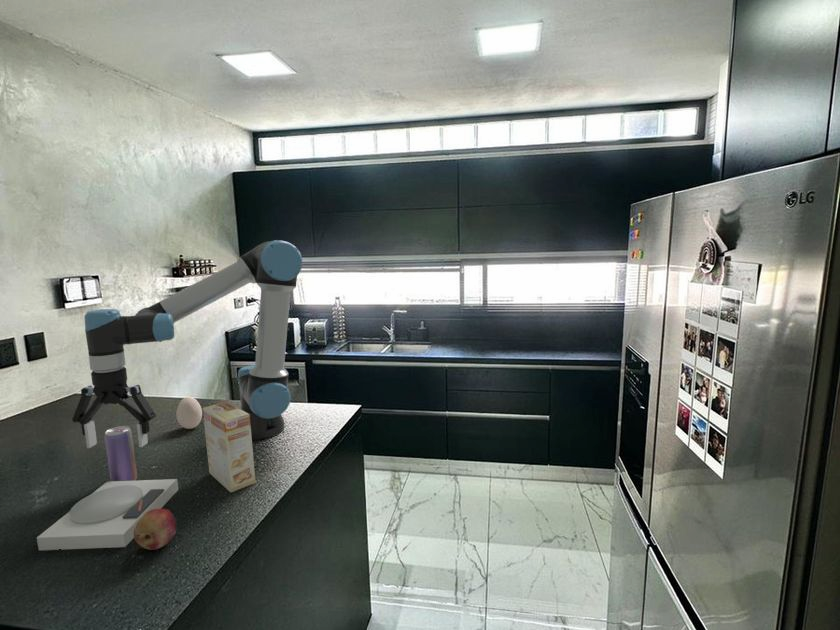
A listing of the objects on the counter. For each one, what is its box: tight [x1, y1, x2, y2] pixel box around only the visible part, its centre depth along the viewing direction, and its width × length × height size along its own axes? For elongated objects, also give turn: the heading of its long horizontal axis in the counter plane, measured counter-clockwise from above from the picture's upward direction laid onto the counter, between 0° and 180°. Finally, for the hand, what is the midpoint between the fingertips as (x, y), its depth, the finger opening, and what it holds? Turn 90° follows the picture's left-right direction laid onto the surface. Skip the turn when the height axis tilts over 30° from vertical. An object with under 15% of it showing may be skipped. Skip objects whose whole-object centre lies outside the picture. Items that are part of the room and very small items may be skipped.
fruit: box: [133, 508, 178, 551], centre depth 92 cm, size 8×8×8 cm
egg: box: [176, 396, 203, 430], centre depth 153 cm, size 8×8×11 cm
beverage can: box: [104, 425, 138, 481], centre depth 118 cm, size 6×6×15 cm
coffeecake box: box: [202, 401, 257, 494], centre depth 118 cm, size 15×7×20 cm, turn 45°
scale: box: [36, 478, 179, 551], centre depth 103 cm, size 18×22×4 cm
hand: (117, 445), depth 117 cm, fingers open, 13 cm apart
